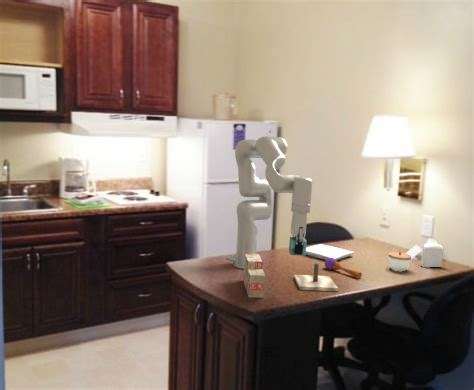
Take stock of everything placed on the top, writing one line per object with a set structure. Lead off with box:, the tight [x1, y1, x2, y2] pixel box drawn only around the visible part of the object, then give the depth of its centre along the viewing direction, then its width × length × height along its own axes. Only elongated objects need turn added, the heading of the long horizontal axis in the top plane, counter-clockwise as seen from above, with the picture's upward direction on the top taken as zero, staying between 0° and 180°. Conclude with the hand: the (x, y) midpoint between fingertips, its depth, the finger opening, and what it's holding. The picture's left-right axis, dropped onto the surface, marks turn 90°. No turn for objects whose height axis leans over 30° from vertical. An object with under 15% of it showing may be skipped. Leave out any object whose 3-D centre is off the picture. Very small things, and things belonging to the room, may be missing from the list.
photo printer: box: [420, 242, 444, 268], centre depth 255 cm, size 10×4×12 cm, turn 89°
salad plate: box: [306, 243, 355, 261], centre depth 266 cm, size 21×21×3 cm
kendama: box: [324, 257, 363, 280], centre depth 236 cm, size 6×6×20 cm
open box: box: [288, 236, 308, 257], centre depth 202 cm, size 6×6×6 cm
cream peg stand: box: [293, 262, 339, 292], centre depth 216 cm, size 16×16×10 cm
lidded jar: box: [387, 251, 412, 273], centre depth 246 cm, size 11×11×9 cm
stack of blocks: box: [243, 253, 266, 298], centre depth 206 cm, size 21×6×12 cm, turn 5°
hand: (297, 251), depth 202 cm, fingers closed on open box, 5 cm apart
